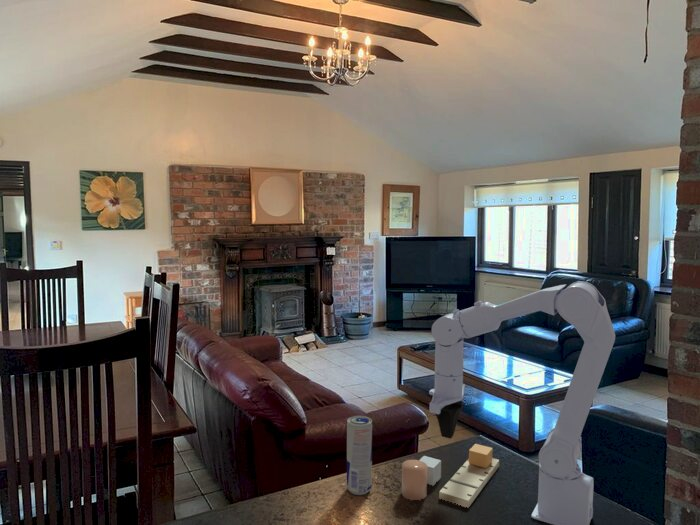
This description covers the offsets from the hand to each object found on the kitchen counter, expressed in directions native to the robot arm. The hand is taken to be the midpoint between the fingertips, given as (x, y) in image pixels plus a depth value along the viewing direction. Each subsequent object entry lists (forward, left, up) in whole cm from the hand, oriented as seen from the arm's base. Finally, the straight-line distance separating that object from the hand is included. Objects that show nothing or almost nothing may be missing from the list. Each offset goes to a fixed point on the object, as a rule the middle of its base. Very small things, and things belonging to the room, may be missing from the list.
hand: (447, 436), depth 108 cm
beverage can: (+14, +12, -11) cm, 21 cm away
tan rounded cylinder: (+4, +7, -10) cm, 13 cm away
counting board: (-4, -4, -10) cm, 12 cm away
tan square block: (-4, -10, -9) cm, 14 cm away
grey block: (+4, 0, -10) cm, 11 cm away
